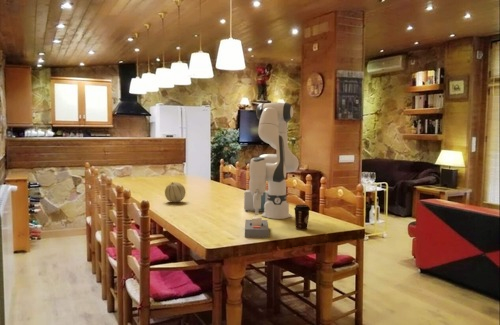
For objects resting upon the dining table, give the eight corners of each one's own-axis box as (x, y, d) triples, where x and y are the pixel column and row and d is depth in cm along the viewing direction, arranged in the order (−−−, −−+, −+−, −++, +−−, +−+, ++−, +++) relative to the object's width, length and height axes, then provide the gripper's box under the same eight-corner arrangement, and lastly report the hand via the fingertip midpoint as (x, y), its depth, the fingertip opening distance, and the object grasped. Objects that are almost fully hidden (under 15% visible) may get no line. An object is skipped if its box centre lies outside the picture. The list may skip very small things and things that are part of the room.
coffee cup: (308, 227, 230) (308, 204, 229) (310, 230, 222) (311, 207, 221) (292, 226, 230) (293, 204, 229) (294, 230, 222) (295, 206, 221)
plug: (251, 230, 219) (252, 217, 218) (261, 230, 219) (261, 217, 218) (251, 231, 215) (252, 218, 215) (261, 231, 215) (261, 218, 215)
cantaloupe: (188, 201, 303) (188, 181, 302) (180, 204, 289) (180, 183, 288) (170, 200, 307) (170, 180, 306) (161, 203, 293) (161, 182, 291)
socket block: (245, 226, 228) (245, 218, 228) (266, 227, 228) (267, 219, 228) (244, 237, 206) (244, 228, 206) (268, 237, 206) (268, 228, 206)
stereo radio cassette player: (244, 211, 271) (244, 181, 269) (244, 208, 279) (245, 179, 278) (275, 212, 271) (276, 182, 269) (275, 209, 279) (275, 180, 277)
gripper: (264, 191, 205) (263, 218, 206) (262, 186, 225) (262, 211, 226) (251, 191, 205) (250, 218, 206) (251, 185, 225) (250, 210, 226)
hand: (256, 214), depth 216 cm, fingers closed
